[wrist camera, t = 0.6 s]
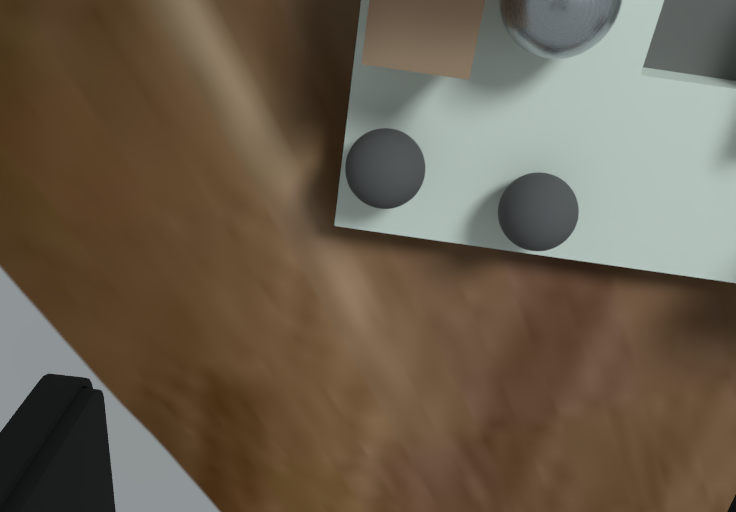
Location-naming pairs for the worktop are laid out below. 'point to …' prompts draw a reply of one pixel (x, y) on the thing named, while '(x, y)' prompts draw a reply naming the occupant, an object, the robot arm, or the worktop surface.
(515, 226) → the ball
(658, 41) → the board
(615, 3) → the steel ball
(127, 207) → the worktop surface
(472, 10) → the block
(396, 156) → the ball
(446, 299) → the worktop surface
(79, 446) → the robot arm
